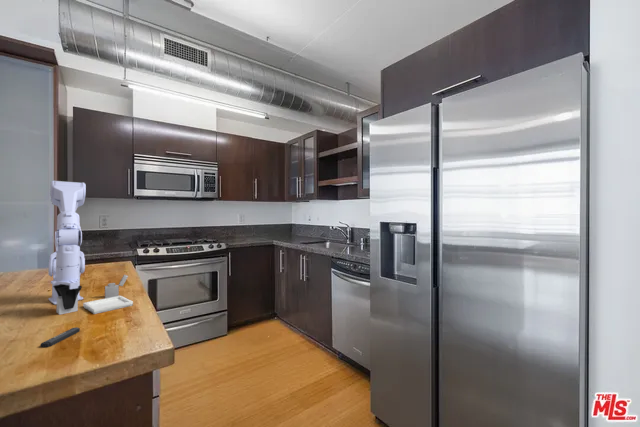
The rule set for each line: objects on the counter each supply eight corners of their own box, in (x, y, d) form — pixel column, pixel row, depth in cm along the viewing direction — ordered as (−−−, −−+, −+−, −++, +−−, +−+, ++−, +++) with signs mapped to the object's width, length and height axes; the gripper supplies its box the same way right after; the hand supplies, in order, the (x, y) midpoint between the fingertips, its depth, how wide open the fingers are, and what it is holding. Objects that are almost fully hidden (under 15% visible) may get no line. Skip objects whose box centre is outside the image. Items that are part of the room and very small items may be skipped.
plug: (56, 312, 90) (56, 293, 90) (74, 308, 94) (74, 290, 94) (59, 314, 88) (59, 295, 88) (77, 310, 92) (78, 292, 92)
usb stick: (71, 332, 77) (71, 326, 77) (81, 332, 77) (81, 326, 77) (38, 349, 67) (38, 342, 67) (49, 348, 67) (49, 342, 67)
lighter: (105, 298, 105) (105, 277, 105) (104, 297, 106) (105, 276, 106) (127, 295, 110) (128, 274, 110) (127, 294, 111) (127, 274, 111)
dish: (83, 306, 95) (83, 302, 95) (120, 299, 104) (120, 295, 104) (94, 314, 89) (94, 309, 89) (132, 305, 98) (132, 301, 98)
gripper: (45, 264, 92) (45, 305, 92) (57, 270, 83) (56, 315, 83) (73, 261, 98) (72, 300, 98) (86, 267, 89) (86, 309, 89)
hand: (67, 307), depth 91 cm, fingers closed on plug, 3 cm apart
